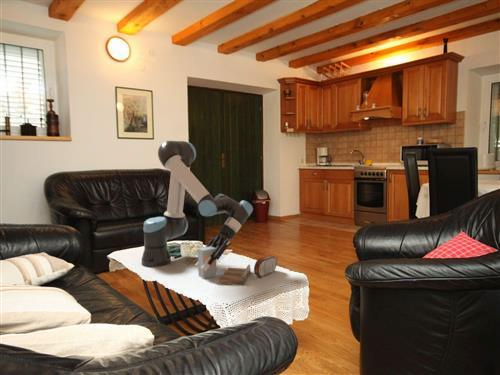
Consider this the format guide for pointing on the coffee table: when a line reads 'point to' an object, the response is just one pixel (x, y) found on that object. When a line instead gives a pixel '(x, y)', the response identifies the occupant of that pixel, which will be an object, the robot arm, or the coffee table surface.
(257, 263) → the tin
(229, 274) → the shelf board
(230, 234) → the robot arm
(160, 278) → the coffee table surface
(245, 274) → the price rail
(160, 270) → the coffee table surface
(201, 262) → the carton
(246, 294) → the coffee table surface
